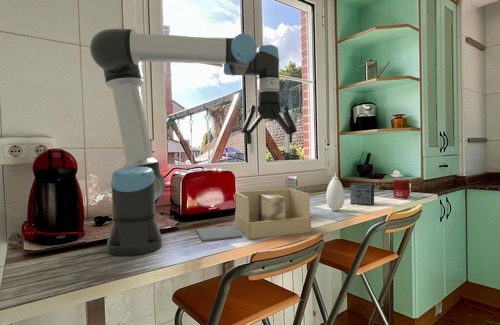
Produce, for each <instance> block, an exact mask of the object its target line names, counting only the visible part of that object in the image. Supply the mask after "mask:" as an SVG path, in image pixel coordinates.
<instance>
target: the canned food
mask: <svg viewBox="0 0 500 325" xmlns="http://www.w3.org/2000/svg"><path fill="white" fill-rule="evenodd" d="M410 184H411V182H410V178H409V177H394V178H393V198H394V197H397V198H408V197H409V198H410V193H411V191H410ZM397 198H396V199H397Z"/></svg>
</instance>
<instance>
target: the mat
mask: <svg viewBox="0 0 500 325" xmlns="http://www.w3.org/2000/svg"><path fill="white" fill-rule="evenodd" d="M196 233H197V235H198V236H199V238H200V240H201V242H202V243H203V242H204V243H205V242H211V241H219V240H220V241H222V240H231V239H238V238H239V239H240V238H243V234H242V233H241V232H240V231H239V230H238V229H237V228H236V227H234V226H233V225H227V226H218V227H208V228H207V227H205V228H196Z"/></svg>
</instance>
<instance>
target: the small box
mask: <svg viewBox="0 0 500 325" xmlns="http://www.w3.org/2000/svg"><path fill="white" fill-rule="evenodd" d="M355 204H358V206H369V205H372V206H373V205H375V183H367V182H365V183H364V182H362V183H360V182H352V183H350V205H355Z"/></svg>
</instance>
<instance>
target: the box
mask: <svg viewBox="0 0 500 325" xmlns="http://www.w3.org/2000/svg"><path fill="white" fill-rule="evenodd" d="M282 219H285V197H283V196H280V195H277V194H274V193H272V194H259V222H261V221H271V220H282Z"/></svg>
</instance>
